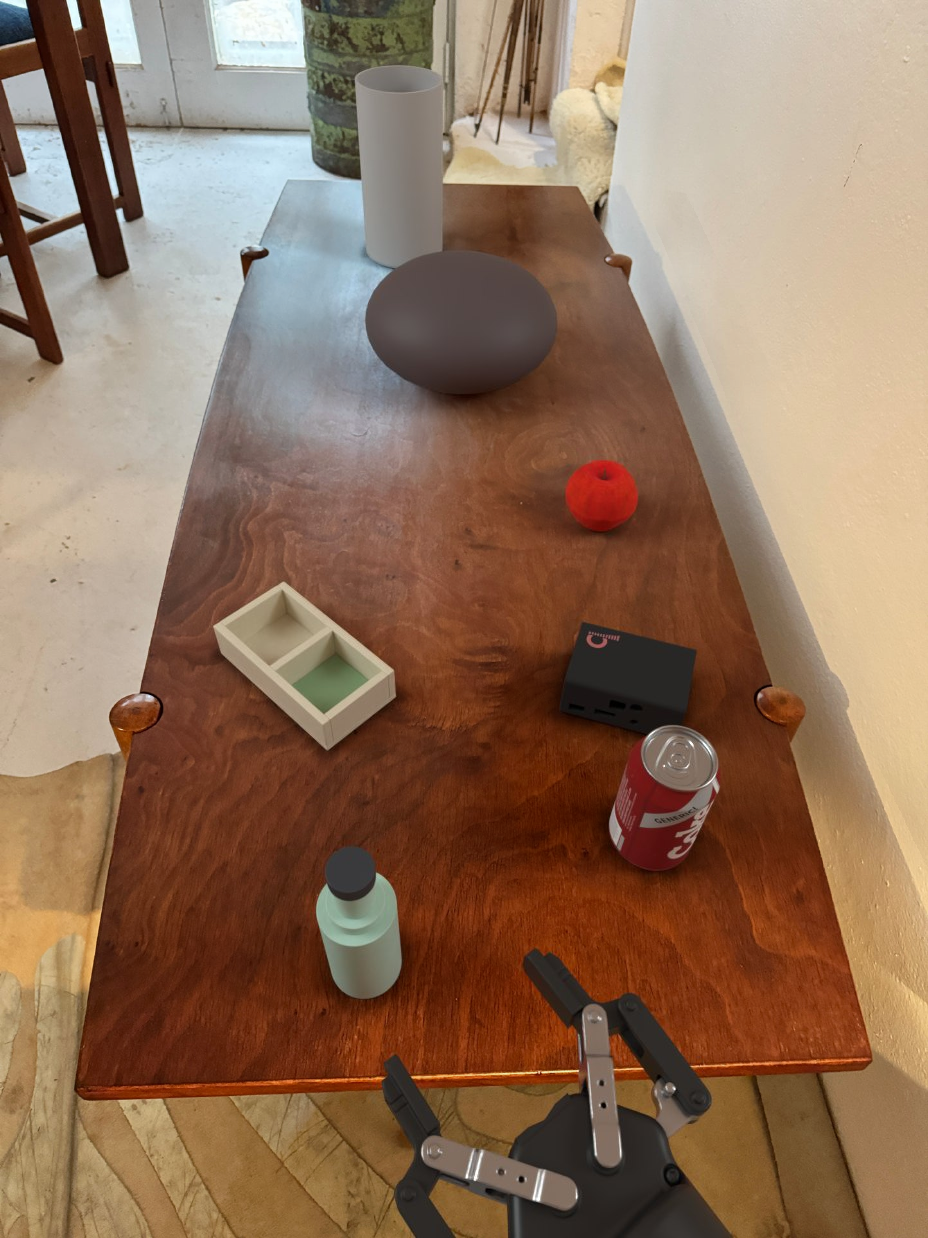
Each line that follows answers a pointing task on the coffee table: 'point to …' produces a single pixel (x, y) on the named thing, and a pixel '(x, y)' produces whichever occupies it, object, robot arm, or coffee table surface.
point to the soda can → (664, 797)
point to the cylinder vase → (401, 161)
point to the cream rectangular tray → (306, 663)
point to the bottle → (359, 924)
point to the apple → (601, 495)
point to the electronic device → (627, 679)
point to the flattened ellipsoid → (461, 322)
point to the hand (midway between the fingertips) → (461, 1007)
